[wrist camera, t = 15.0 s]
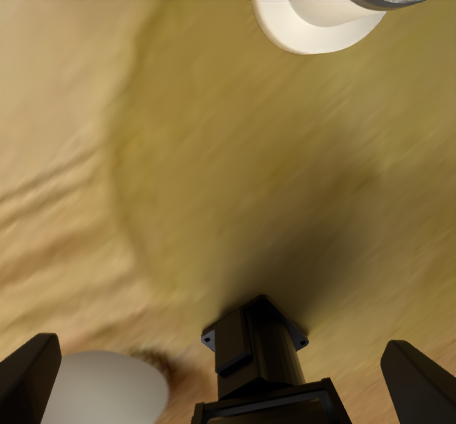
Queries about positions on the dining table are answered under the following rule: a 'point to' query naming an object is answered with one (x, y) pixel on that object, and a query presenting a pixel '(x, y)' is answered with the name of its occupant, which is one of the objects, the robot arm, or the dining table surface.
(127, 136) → the dining table surface
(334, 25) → the plug
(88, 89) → the dining table surface
